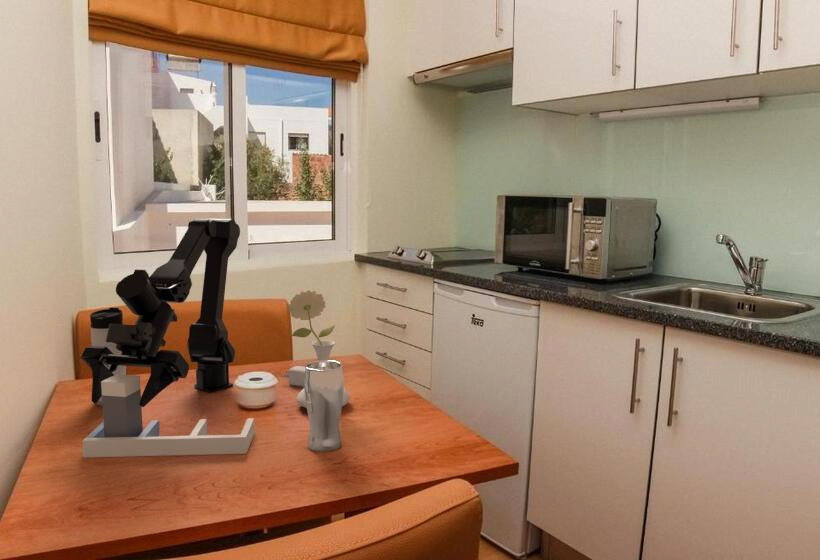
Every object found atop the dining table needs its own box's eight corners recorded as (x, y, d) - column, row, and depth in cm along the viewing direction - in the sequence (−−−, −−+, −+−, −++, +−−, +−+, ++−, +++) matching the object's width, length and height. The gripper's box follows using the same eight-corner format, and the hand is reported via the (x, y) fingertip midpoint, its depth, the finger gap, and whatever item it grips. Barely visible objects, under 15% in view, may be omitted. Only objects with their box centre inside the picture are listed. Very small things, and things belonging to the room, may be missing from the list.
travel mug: (133, 397, 139) (129, 307, 136) (117, 407, 132) (111, 313, 130) (106, 395, 139) (101, 306, 137) (88, 405, 133) (83, 312, 130)
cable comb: (254, 433, 119) (254, 418, 119) (246, 453, 110) (246, 437, 110) (104, 436, 117) (103, 421, 116) (83, 457, 108) (82, 440, 107)
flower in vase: (351, 397, 141) (351, 286, 137) (348, 415, 129) (348, 295, 126) (293, 397, 140) (291, 285, 137) (284, 415, 129) (282, 294, 125)
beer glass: (350, 440, 116) (350, 361, 114) (333, 455, 110) (333, 372, 108) (316, 435, 119) (315, 358, 116) (298, 449, 112) (296, 368, 110)
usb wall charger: (305, 388, 147) (304, 371, 146) (279, 384, 149) (279, 368, 149) (313, 383, 150) (313, 367, 150) (288, 379, 153) (288, 363, 152)
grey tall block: (120, 437, 116) (117, 374, 114) (143, 439, 115) (139, 375, 113) (105, 447, 111) (101, 381, 110) (128, 449, 111) (124, 383, 109)
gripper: (83, 302, 115) (43, 379, 106) (178, 307, 112) (145, 386, 103) (113, 335, 124) (78, 408, 115) (201, 340, 121) (173, 415, 112)
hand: (117, 404), depth 111 cm, fingers open, 9 cm apart
